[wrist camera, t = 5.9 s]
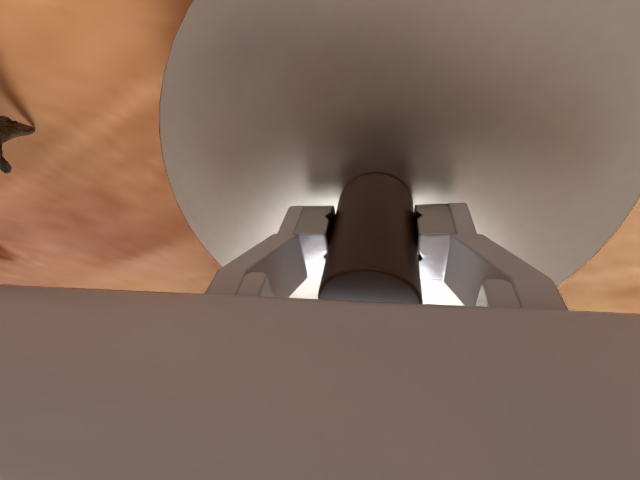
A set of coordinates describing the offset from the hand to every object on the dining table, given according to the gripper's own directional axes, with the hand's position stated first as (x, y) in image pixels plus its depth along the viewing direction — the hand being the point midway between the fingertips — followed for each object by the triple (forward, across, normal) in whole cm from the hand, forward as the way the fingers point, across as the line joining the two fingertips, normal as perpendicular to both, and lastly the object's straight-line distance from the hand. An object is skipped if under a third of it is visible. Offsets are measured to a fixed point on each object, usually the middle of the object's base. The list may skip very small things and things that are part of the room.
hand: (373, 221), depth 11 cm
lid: (+2, 0, 0) cm, 2 cm away
